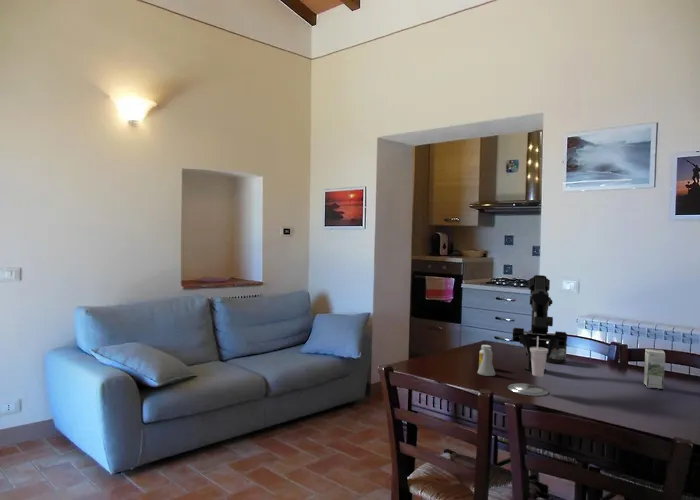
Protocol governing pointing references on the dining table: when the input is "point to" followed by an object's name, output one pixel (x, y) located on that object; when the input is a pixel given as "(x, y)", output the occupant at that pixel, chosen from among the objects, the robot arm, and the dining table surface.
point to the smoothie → (538, 359)
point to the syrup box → (654, 368)
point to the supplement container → (557, 354)
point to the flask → (486, 364)
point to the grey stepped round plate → (528, 389)
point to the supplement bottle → (483, 353)
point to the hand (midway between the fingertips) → (538, 356)
